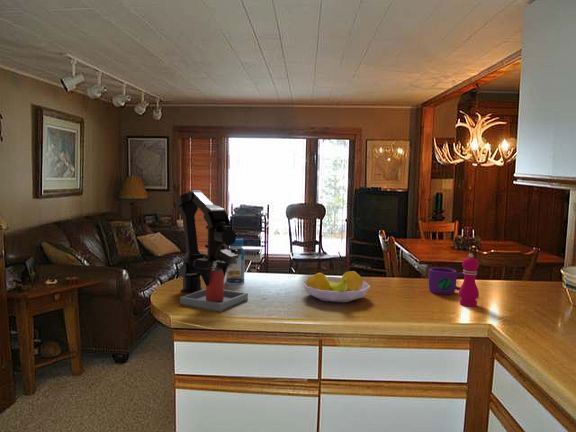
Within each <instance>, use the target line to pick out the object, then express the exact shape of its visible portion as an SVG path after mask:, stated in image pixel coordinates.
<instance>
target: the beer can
mask: <svg viewBox="0 0 576 432" xmlns="http://www.w3.org/2000/svg"><path fill="white" fill-rule="evenodd" d="M212 268H213V270H212V271H211V272H210V282H209V286H206V285H205V289H206V301H210V302H221V301H222V300H223V299H224V290H225V288H224V286H225V284H224V283H225V278H224V273H223V271H222V270H223V269H221V268H218V267H212Z"/></svg>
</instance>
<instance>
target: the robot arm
mask: <svg viewBox="0 0 576 432" xmlns="http://www.w3.org/2000/svg"><path fill="white" fill-rule="evenodd" d="M175 205H176V208H177V212H178V213H179V215H180V216H181V217H182V222H183V223H182V224H183V233H184V244H185V255H184V256H183V259H182V264H181V267H180V268H179V271H178V273H179V277H181V278H183V279H182V288H181V289H180V292H184V293H185V292H186V293H189V294H191V293H194V292H197V291H200V290H203V288H201V287H202V286H201V285H202V283H201V278H202V280H203V282H204V284H205V287H206V286H209V282H210V272H211V271H212V270H213V268H214V267H213V266H214V264H216V268H221V269H223V270H222V271H223V273H224V279H225V278H226V271H227V269H228V267H229V266H230V265H231V264H233V263H235V260H236V258H238V250H237V249H232V250H228V249H227V246H228V245H232V244H233V243H234V242H235V240H236V238H237V235H236V232H235V231H234V230H233V229H232V226H231V219H229V217H228V214H227V211H226V209H225V208H223V207H222V206H219V205H215V204H214V203H213V202H212V201H210V199H209V198H207V196H206V195H204V193H203V191H202V190H198V189H197V190H196V189H195V190H193V189H191V190H189V191H188V192H186V193H183V194H180V195H179V196H178V197H177V198H176V201H175ZM198 209H199V210H200V211H201V212H202V213H203V219H204V221H205V222H206V224H207V225H206V226H205V230H207V244H204V247H205V248H206V249H207V255H204V254H203V253H201V252H200V251H199V245H198V236H197V226H196V214H197V212H198Z"/></svg>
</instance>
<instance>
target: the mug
mask: <svg viewBox="0 0 576 432" xmlns="http://www.w3.org/2000/svg"><path fill="white" fill-rule="evenodd" d="M460 276H461V277H464V273H463V272H457V270H456V269H453V268H450V267H439V266H438V267H437V266H436V267H429V268H428V290H429V292H431V293H432V294H437V295H443V296H449V295H451V296H452V295H453V294H454V293H455V291H459V290H460V287H461V286H460V287H459V286H457V278H458V277H460Z"/></svg>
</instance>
